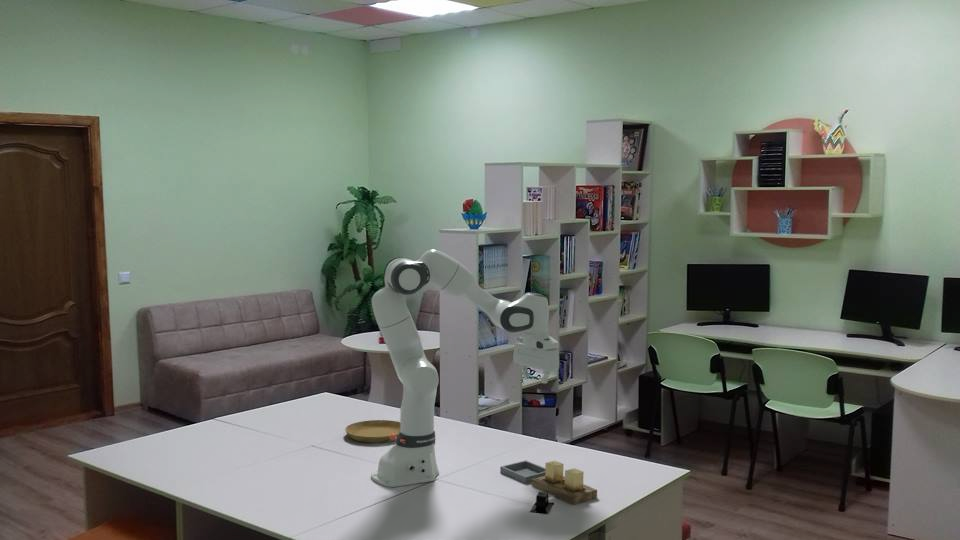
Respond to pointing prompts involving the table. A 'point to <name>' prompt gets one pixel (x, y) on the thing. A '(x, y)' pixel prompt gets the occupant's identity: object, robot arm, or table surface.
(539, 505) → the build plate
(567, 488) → the block
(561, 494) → the pallet
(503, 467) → the shallow grey tray
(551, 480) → the block
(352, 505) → the table surface
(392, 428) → the plant saucer
